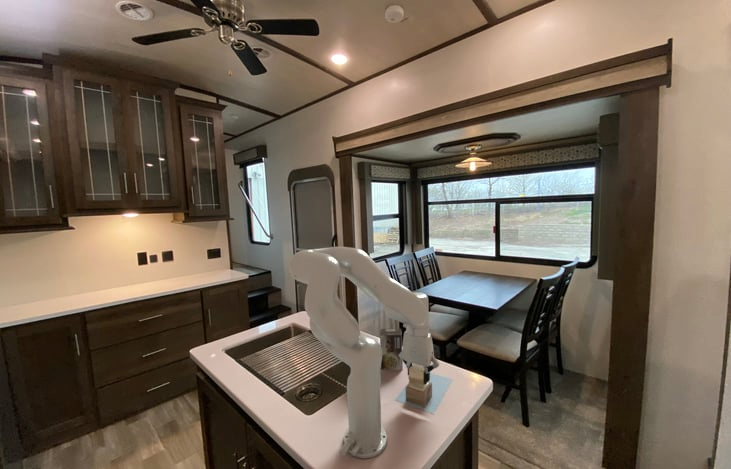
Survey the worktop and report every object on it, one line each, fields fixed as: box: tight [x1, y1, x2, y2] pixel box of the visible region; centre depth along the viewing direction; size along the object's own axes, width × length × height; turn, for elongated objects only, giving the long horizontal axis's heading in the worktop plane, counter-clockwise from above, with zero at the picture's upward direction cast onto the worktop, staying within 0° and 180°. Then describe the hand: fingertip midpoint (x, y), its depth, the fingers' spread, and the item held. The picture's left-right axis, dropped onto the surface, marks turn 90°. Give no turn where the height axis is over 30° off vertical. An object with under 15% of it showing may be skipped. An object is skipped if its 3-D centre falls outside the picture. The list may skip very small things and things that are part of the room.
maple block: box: [408, 363, 425, 387], centre depth 99 cm, size 5×5×5 cm
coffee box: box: [379, 328, 404, 372], centre depth 120 cm, size 9×6×16 cm
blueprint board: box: [394, 372, 453, 415], centre depth 104 cm, size 22×14×6 cm, turn 147°
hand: (418, 379), depth 99 cm, fingers closed on maple block, 4 cm apart
